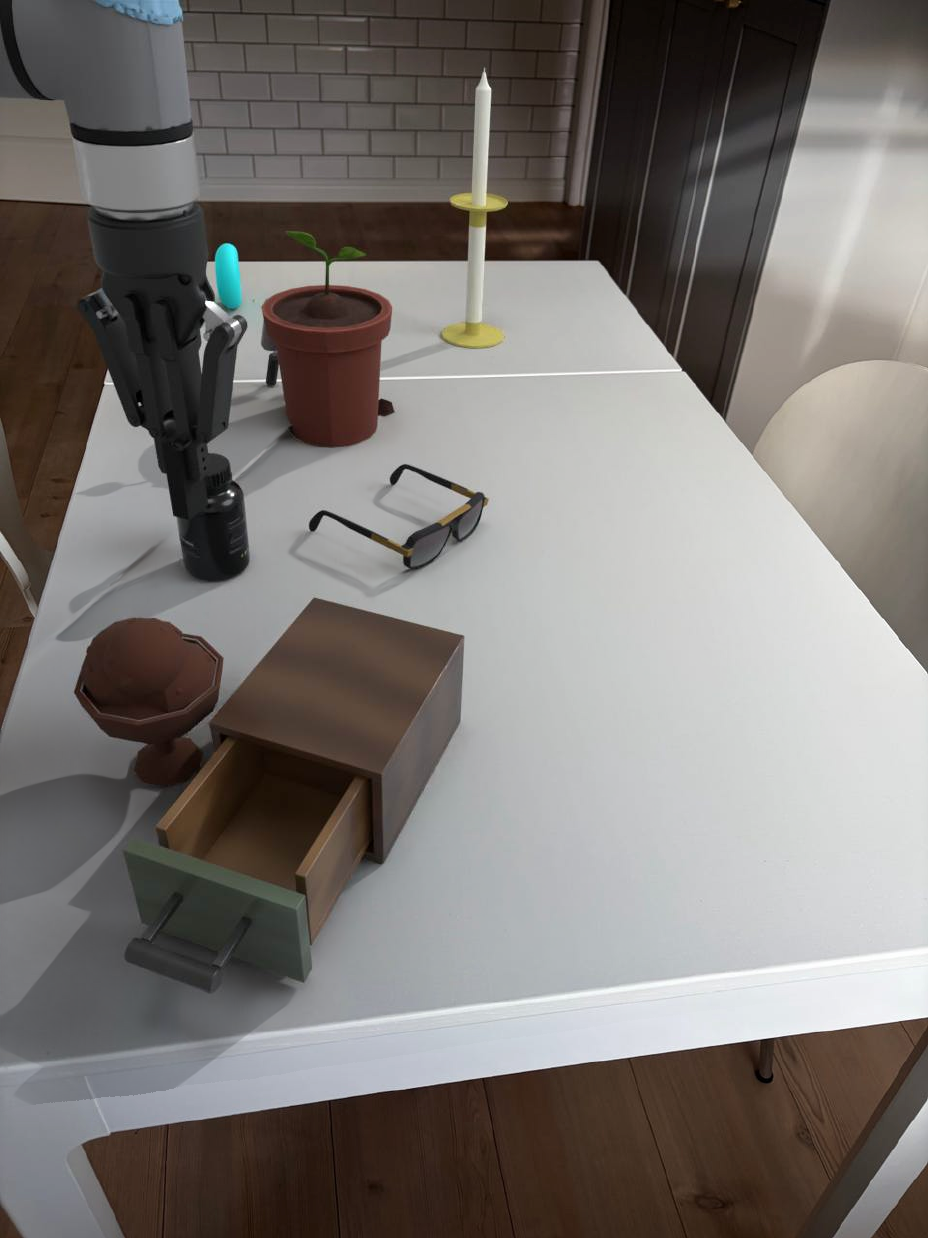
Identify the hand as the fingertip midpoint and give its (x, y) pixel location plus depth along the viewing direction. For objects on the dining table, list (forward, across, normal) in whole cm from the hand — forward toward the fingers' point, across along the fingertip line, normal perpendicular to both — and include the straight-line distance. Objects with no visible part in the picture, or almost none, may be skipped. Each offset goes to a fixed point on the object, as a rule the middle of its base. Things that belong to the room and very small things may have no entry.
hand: (190, 509), depth 80 cm
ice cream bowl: (+17, -3, +11) cm, 21 cm away
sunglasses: (+17, -5, -29) cm, 34 cm away
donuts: (+17, +51, -77) cm, 94 cm away
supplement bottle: (+17, +9, -15) cm, 24 cm away
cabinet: (+17, -16, +6) cm, 24 cm away
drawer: (+16, -17, +20) cm, 31 cm away
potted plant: (+17, +16, -50) cm, 55 cm away
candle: (+17, +9, -86) cm, 88 cm away
